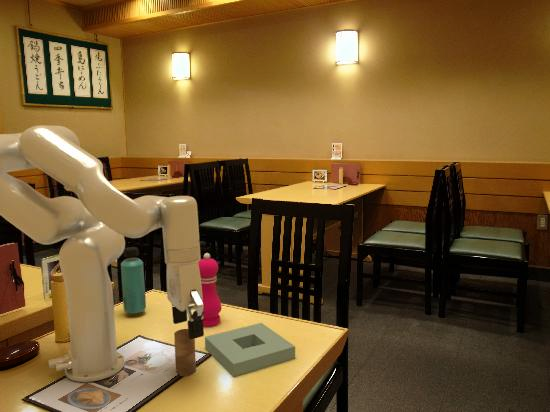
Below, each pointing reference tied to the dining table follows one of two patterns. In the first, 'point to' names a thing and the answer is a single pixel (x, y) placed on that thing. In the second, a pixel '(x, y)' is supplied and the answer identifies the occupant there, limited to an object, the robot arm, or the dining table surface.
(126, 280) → the beverage bottle
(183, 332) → the walnut peg
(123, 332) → the dining table surface
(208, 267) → the pepper mill
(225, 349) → the socket board
